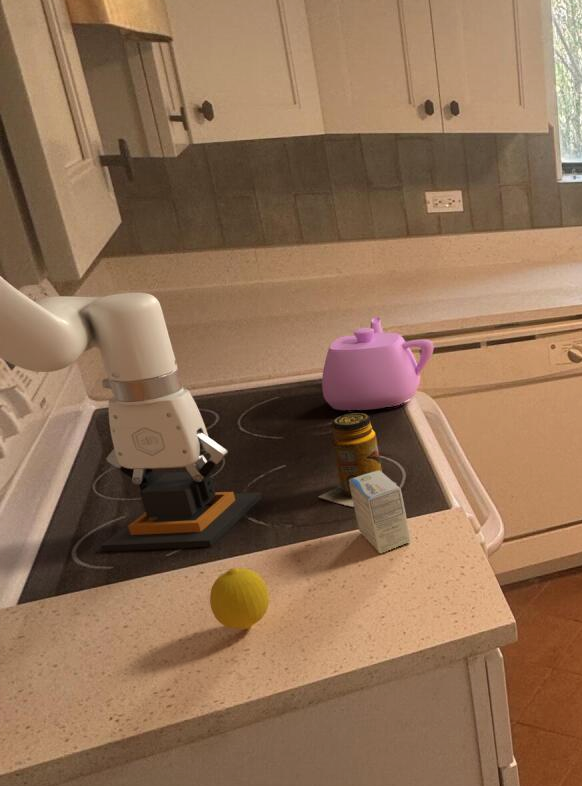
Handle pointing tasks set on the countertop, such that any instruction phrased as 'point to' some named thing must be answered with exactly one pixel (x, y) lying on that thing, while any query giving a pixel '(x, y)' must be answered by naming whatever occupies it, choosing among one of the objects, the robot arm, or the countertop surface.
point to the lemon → (239, 598)
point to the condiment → (352, 453)
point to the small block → (170, 496)
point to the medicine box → (379, 511)
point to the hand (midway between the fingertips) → (181, 502)
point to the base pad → (184, 525)
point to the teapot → (372, 369)
